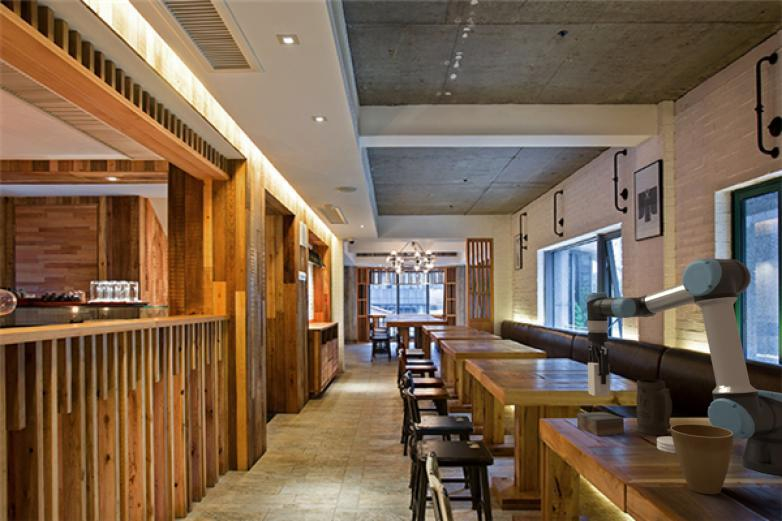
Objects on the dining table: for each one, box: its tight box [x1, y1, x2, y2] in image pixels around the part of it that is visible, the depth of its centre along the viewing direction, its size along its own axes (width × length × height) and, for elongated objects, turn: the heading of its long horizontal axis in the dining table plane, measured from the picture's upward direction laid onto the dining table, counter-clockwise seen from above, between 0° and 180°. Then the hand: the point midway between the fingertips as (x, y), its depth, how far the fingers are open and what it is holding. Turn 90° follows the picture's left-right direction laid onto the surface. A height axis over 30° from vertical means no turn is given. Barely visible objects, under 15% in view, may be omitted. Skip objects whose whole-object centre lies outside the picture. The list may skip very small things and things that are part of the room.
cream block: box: [587, 362, 611, 397], centre depth 209 cm, size 6×6×12 cm
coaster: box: [656, 435, 676, 454], centre depth 183 cm, size 10×10×4 cm
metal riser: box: [576, 411, 625, 437], centre depth 208 cm, size 12×12×6 cm
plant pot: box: [669, 423, 734, 495], centre depth 146 cm, size 15×15×16 cm
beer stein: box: [635, 378, 673, 436], centre depth 205 cm, size 15×11×20 cm
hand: (599, 390), depth 209 cm, fingers closed on cream block, 6 cm apart
